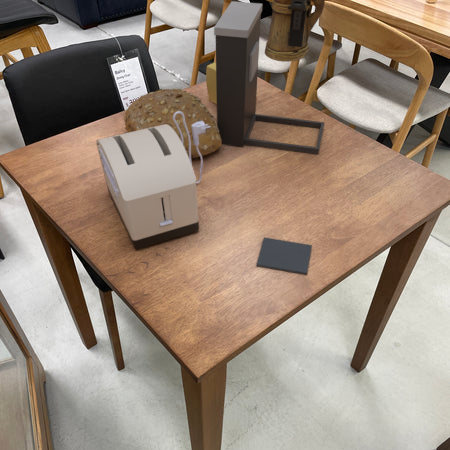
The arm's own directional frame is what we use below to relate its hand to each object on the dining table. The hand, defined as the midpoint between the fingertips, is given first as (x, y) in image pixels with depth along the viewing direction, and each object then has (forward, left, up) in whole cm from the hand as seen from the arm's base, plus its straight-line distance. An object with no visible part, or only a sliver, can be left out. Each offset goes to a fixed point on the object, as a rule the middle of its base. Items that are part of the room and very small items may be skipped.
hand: (298, 38), depth 91 cm
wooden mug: (0, 0, -3) cm, 3 cm away
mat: (-6, +37, -27) cm, 46 cm away
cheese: (+19, -23, -27) cm, 41 cm away
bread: (+29, +2, -27) cm, 40 cm away
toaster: (+21, +27, -27) cm, 44 cm away
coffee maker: (+5, -8, -27) cm, 28 cm away
